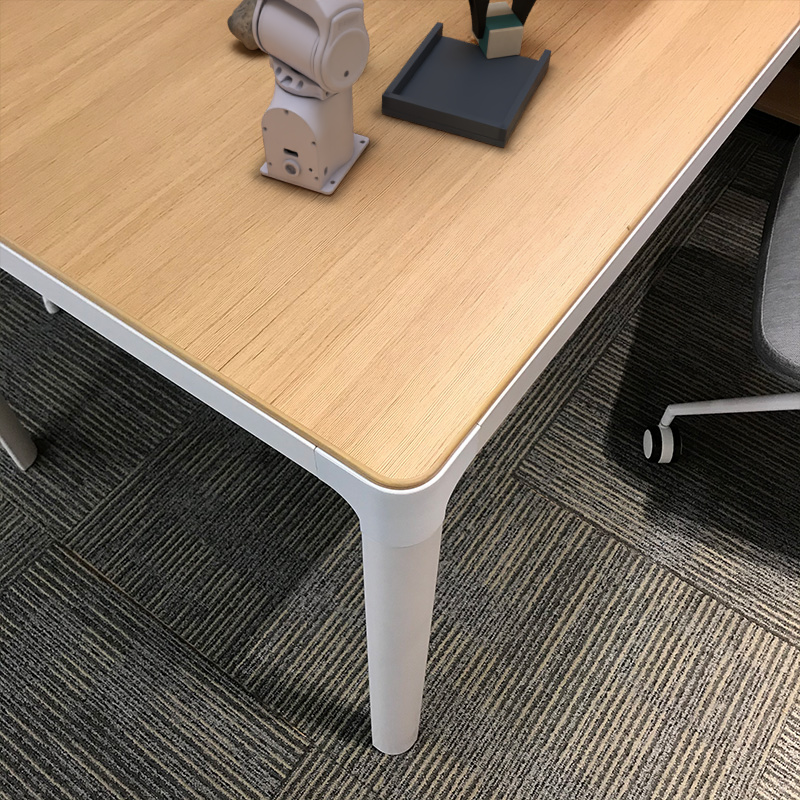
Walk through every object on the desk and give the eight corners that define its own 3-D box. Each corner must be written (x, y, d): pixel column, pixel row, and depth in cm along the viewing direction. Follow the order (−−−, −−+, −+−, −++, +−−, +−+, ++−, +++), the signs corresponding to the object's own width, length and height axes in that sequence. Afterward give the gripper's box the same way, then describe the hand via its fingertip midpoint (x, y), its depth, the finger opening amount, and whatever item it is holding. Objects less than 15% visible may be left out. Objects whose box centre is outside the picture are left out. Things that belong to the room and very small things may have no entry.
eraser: (502, 27, 92) (506, 0, 89) (520, 54, 89) (524, 27, 86) (470, 31, 91) (473, 4, 89) (487, 59, 88) (490, 32, 85)
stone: (328, 42, 92) (292, -22, 90) (333, 28, 87) (295, -40, 85) (258, 84, 92) (220, 21, 90) (259, 72, 86) (218, 5, 84)
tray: (503, 148, 80) (506, 129, 78) (381, 113, 83) (381, 94, 81) (548, 69, 89) (551, 50, 87) (435, 40, 92) (437, 21, 90)
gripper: (457, -73, 74) (447, 59, 85) (595, -87, 77) (567, 42, 88) (436, -104, 78) (428, 25, 89) (567, -117, 81) (544, 10, 92)
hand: (496, 31), depth 89 cm, fingers closed on eraser, 4 cm apart
